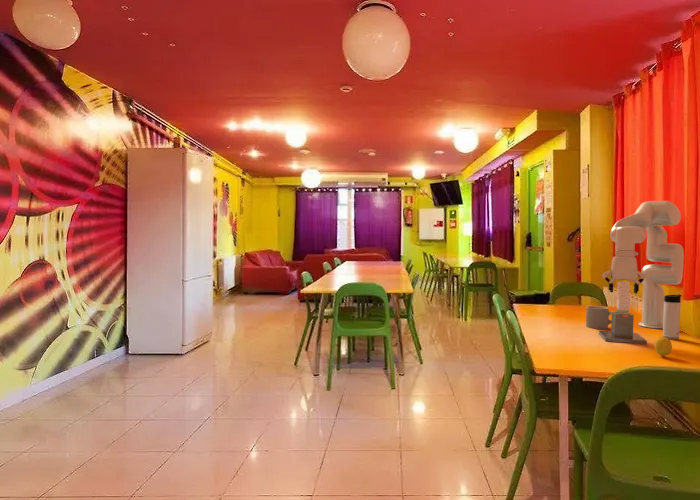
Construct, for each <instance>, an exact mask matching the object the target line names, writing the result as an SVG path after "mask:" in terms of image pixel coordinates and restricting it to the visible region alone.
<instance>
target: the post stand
mask: <svg viewBox="0 0 700 500" xmlns="http://www.w3.org/2000/svg"><path fill="white" fill-rule="evenodd" d="M634 316H635V315H634V314H632V313H631V312H629V315H627V314H617V311H612V314H611V320H612V323H611V324H610V325H611V327H610V328H611V329H610V330H609V331H608V330H598V335H599V336H600V337H601V338H602V339H603V340H604V341H605V342H608V343H610V342H612V343H624V344H635V345H636V344H638V345H647V344H648V340H647V339H645V338H644V337H643V336H642V335H640V334H639V333H638V332H637V333H636V332H634Z"/></svg>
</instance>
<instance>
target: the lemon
mask: <svg viewBox="0 0 700 500" xmlns="http://www.w3.org/2000/svg"><path fill="white" fill-rule="evenodd" d="M654 349H655V352H656V353H657V354H658V355H660V356H661V357H663V358H664V357H666V356H668V355H670V354H671V352H672V349H673V345H672V342H671V340H670V339H668V338H666V337H664V336H663V335H662V336H661V337H659V338H657V339H656V340H655V343H654Z"/></svg>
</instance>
